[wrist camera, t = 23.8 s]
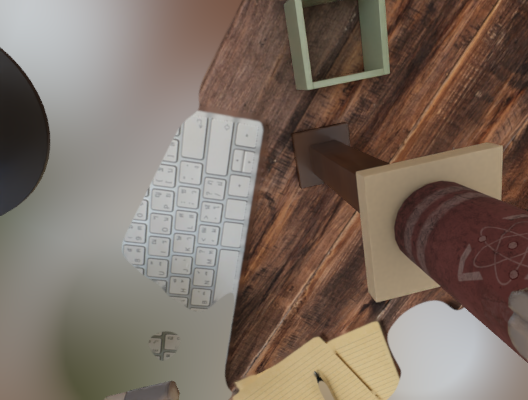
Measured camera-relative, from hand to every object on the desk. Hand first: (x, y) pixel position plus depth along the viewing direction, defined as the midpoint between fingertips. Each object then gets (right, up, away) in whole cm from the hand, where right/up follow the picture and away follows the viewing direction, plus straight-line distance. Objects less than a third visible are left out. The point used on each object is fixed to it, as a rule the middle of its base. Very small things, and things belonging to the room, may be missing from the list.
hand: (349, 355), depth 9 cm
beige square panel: (+10, +2, +19) cm, 22 cm away
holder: (+7, +25, +40) cm, 47 cm away
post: (+6, +10, +44) cm, 46 cm away
